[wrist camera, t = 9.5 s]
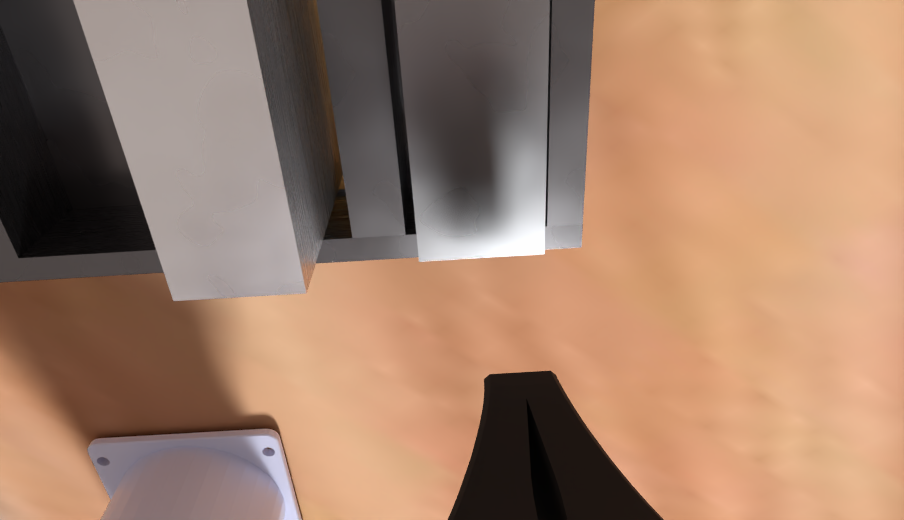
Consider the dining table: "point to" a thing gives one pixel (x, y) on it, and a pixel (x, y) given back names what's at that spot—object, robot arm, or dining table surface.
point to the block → (223, 136)
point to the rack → (357, 126)
